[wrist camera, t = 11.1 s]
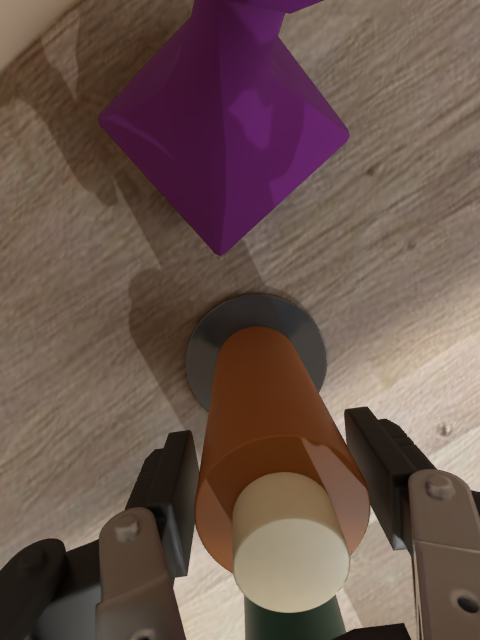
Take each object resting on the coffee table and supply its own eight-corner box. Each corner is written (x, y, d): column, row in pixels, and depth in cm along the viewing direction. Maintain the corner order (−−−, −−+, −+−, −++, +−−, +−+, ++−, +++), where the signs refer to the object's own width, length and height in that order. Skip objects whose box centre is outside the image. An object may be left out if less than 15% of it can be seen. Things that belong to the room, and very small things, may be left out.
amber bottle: (208, 393, 20) (167, 628, 8) (226, 317, 19) (211, 454, 7) (285, 410, 20) (358, 663, 8) (307, 336, 20) (428, 499, 7)
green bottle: (235, 545, 23) (234, 888, 11) (252, 485, 22) (273, 789, 10) (302, 558, 23) (375, 906, 11) (322, 500, 22) (427, 812, 10)
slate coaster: (173, 409, 21) (172, 413, 20) (203, 278, 19) (202, 279, 19) (303, 438, 21) (304, 442, 21) (343, 312, 20) (345, 314, 19)
